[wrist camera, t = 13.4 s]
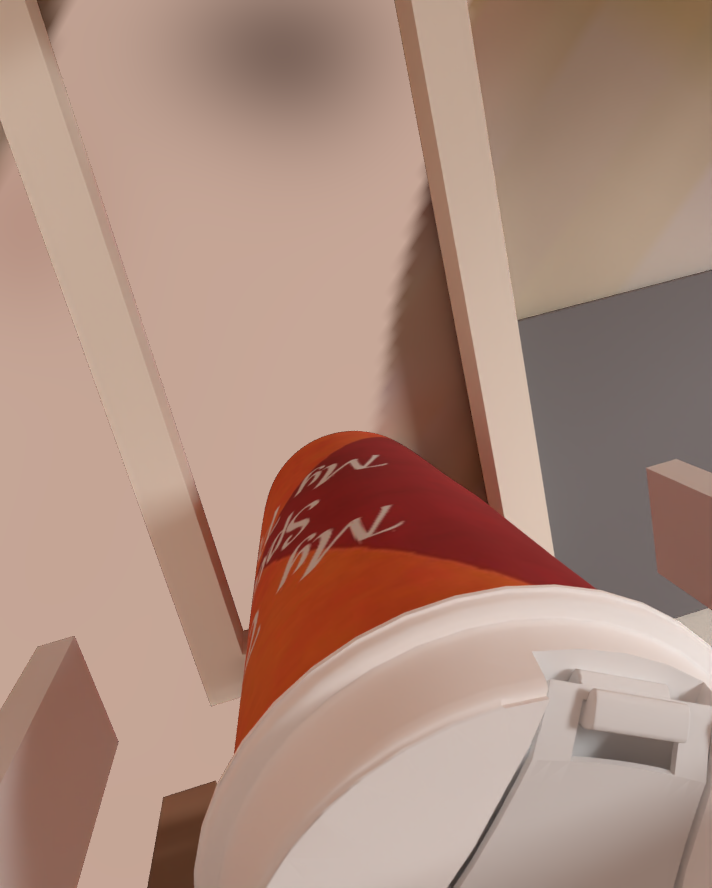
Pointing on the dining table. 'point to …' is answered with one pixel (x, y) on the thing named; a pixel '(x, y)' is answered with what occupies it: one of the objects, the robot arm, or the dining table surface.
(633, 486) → the coaster
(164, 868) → the small wooden stool
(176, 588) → the frame
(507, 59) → the dining table surface
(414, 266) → the dining table surface
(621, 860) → the coffee cup
